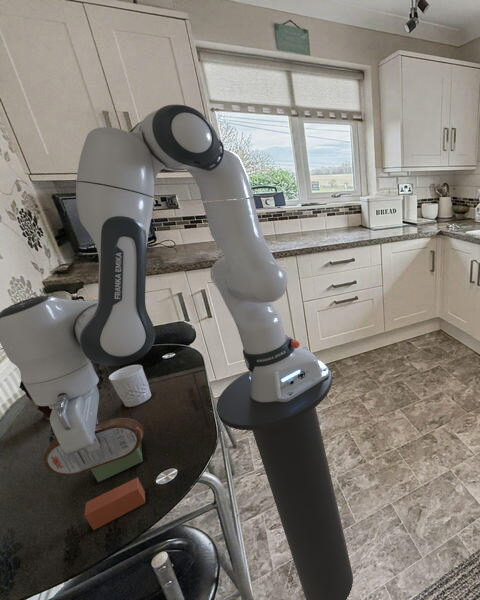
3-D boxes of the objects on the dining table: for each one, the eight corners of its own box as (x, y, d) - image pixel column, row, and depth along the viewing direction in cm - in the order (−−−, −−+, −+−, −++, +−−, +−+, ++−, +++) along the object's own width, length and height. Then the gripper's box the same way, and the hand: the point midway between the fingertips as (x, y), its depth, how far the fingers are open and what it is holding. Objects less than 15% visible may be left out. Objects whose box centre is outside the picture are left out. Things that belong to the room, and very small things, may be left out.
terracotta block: (144, 491, 68) (137, 477, 66) (145, 502, 65) (138, 488, 64) (94, 517, 63) (85, 502, 62) (93, 530, 61) (84, 515, 59)
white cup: (115, 406, 97) (102, 378, 94) (142, 390, 104) (130, 363, 100) (133, 410, 95) (120, 381, 91) (159, 393, 101) (148, 365, 98)
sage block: (142, 452, 78) (135, 440, 77) (142, 461, 76) (136, 448, 74) (98, 472, 74) (91, 459, 72) (98, 482, 71) (90, 468, 70)
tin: (149, 442, 71) (136, 410, 68) (147, 451, 68) (132, 417, 66) (59, 474, 65) (40, 439, 62) (52, 485, 62) (31, 449, 59)
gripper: (81, 401, 54) (114, 463, 59) (91, 357, 69) (116, 410, 74) (27, 419, 51) (67, 485, 55) (50, 369, 66) (79, 424, 71)
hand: (95, 441), depth 65 cm, fingers closed on tin, 3 cm apart
